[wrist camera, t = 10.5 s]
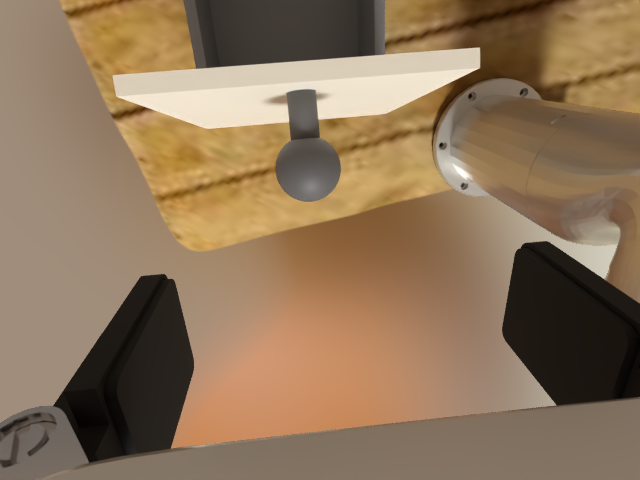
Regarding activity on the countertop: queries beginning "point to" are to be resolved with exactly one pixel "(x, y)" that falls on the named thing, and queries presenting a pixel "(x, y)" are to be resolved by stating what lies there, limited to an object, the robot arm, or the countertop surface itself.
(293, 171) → the flap
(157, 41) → the countertop surface
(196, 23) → the grey storage box
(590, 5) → the countertop surface
